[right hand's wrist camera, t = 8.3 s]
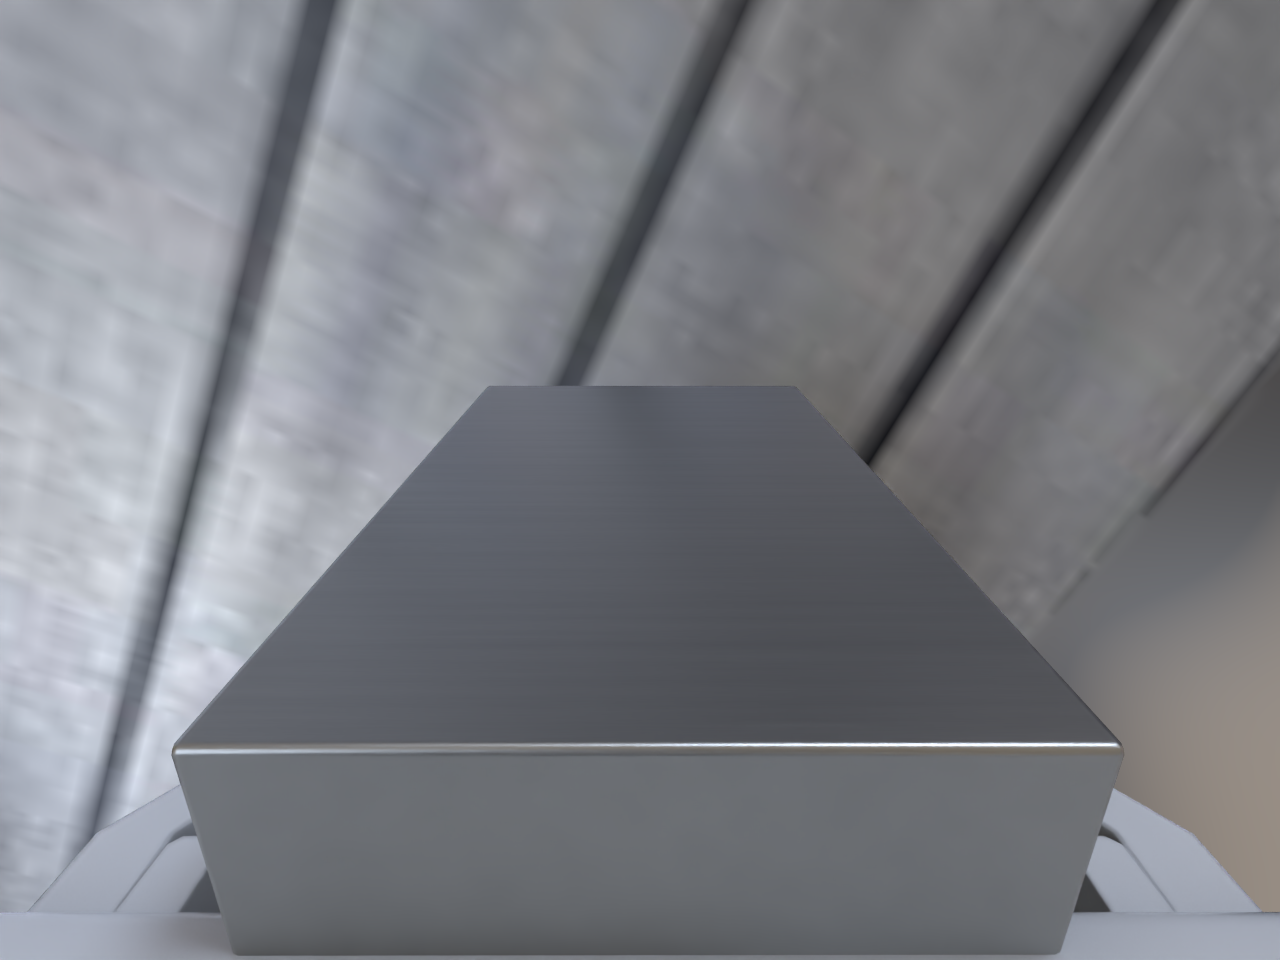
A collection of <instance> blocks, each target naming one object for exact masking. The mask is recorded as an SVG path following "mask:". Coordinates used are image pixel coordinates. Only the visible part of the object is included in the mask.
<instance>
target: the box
mask: <svg viewBox="0 0 1280 960" xmlns="http://www.w3.org/2000/svg"><path fill="white" fill-rule="evenodd" d="M1123 757H1124V750H1123V747H1122V744H1121V742H1120V741H1119V740H1118V739H1117V738H1116V737H1115V736H1114V735H1113V734H1112V733H1111V731H1110V730H1109V729H1108V728H1107V727H1106V726H1105V725H1104V724H1103V723H1102V722H1101V721H1100V719H1099V718H1098V717H1097V716H1096V715H1095V714H1094V713H1093V712H1092V711H1091V709H1090V708H1089V707H1088V706H1087V705H1086V704H1085V703H1084V702H1083V701H1082V700H1081V699H1080V697H1079V696H1078V695H1077V694H1076V693H1075V692H1074V691H1073V690H1072V689H1071V688H1070V687H1069V685H1068V684H1067V683H1066V682H1065V681H1064V680H1063V679H1062V678H1061V677H1060V676H1059V674H1058V673H1057V672H1056V671H1055V670H1054V669H1053V668H1052V667H1051V666H1050V665H1049V664H1048V662H1047V661H1046V660H1045V659H1044V658H1043V657H1042V656H1041V655H1040V654H1039V653H1038V651H1037V650H1036V649H1035V648H1034V647H1033V646H1032V645H1031V644H1030V643H1029V642H1028V641H1027V639H1026V638H1025V637H1024V636H1023V635H1022V634H1021V633H1020V632H1019V631H1018V630H1017V628H1016V627H1015V626H1014V625H1013V624H1012V623H1011V622H1010V621H1009V620H1008V619H1007V618H1006V616H1005V615H1004V614H1003V613H1002V612H1001V611H1000V610H999V609H998V608H997V607H996V605H995V604H994V603H993V602H992V601H991V600H990V599H989V598H988V597H987V596H986V595H985V593H984V592H983V591H982V590H981V589H980V588H979V587H978V586H977V585H976V584H975V582H974V581H973V580H972V579H971V578H970V577H969V576H968V575H967V574H966V573H965V572H964V570H963V569H962V568H961V567H960V566H959V565H958V564H957V563H956V562H955V561H954V559H953V558H952V557H951V556H950V555H949V554H948V553H947V552H946V551H945V550H944V549H943V547H942V546H941V545H940V544H939V543H938V542H937V541H936V540H935V539H934V538H933V536H932V535H931V534H930V533H929V532H928V531H927V530H926V529H925V528H924V527H923V526H922V524H921V523H920V522H919V521H918V520H917V519H916V518H915V517H914V516H913V515H912V513H911V512H910V511H909V510H908V509H907V508H906V507H905V506H904V505H903V504H902V503H901V501H900V500H899V499H898V498H897V497H896V496H895V495H894V494H893V493H892V492H891V490H890V489H889V488H888V487H887V486H886V485H885V484H884V483H883V482H882V481H881V480H880V478H879V477H878V476H877V475H876V474H875V473H874V472H873V471H872V470H871V469H870V467H869V466H868V465H867V464H866V463H865V462H864V461H863V460H862V459H861V458H860V457H859V455H858V454H857V453H856V452H855V451H854V450H853V449H852V448H851V447H850V446H849V445H848V443H847V442H846V441H845V440H844V439H843V438H842V437H841V436H840V435H839V434H838V432H837V431H836V430H835V429H834V428H833V427H832V426H831V425H830V424H829V423H828V422H827V420H826V419H825V418H824V417H823V416H822V415H821V414H820V413H819V412H818V411H817V409H816V408H815V407H814V406H813V405H812V404H811V403H810V402H809V401H808V400H807V399H806V397H805V396H804V395H803V394H802V393H801V392H800V391H799V390H798V389H797V388H796V387H794V386H489V387H487V388H486V389H485V390H484V392H483V393H482V394H481V395H480V396H479V397H478V398H477V400H476V401H475V402H474V403H473V404H472V405H471V406H470V408H469V409H468V410H467V411H466V412H465V413H464V414H463V416H462V417H461V418H460V419H459V420H458V421H457V422H456V423H455V425H454V426H453V427H452V428H451V429H450V430H449V431H448V433H447V434H446V435H445V436H444V437H443V438H442V439H441V441H440V442H439V443H438V444H437V445H436V446H435V447H434V449H433V450H432V451H431V452H430V453H429V454H428V455H427V457H426V458H425V459H424V460H423V461H422V462H421V463H420V464H419V466H418V467H417V468H416V469H415V470H414V471H413V472H412V474H411V475H410V476H409V477H408V478H407V479H406V480H405V482H404V483H403V484H402V485H401V486H400V487H399V488H398V490H397V491H396V492H395V493H394V494H393V495H392V496H391V498H390V499H389V500H388V501H387V502H386V503H385V504H384V505H383V507H382V508H381V509H380V510H379V511H378V512H377V513H376V515H375V516H374V517H373V518H372V519H371V520H370V521H369V523H368V524H367V525H366V526H365V527H364V528H363V529H362V531H361V532H360V533H359V534H358V535H357V536H356V537H355V539H354V540H353V541H352V542H351V543H350V544H349V545H348V546H347V548H346V549H345V550H344V551H343V552H342V553H341V554H340V556H339V557H338V558H337V559H336V560H335V561H334V562H333V564H332V565H331V566H330V567H329V568H328V569H327V570H326V572H325V573H324V574H323V575H322V576H321V577H320V578H319V580H318V581H317V582H316V583H315V584H314V585H313V586H312V587H311V589H310V590H309V591H308V592H307V593H306V594H305V595H304V597H303V598H302V599H301V600H300V601H299V602H298V603H297V605H296V606H295V607H294V608H293V609H292V610H291V611H290V613H289V614H288V615H287V616H286V617H285V618H284V619H283V621H282V622H281V623H280V624H279V625H278V626H277V627H276V628H275V630H274V631H273V632H272V633H271V634H270V635H269V636H268V638H267V639H266V640H265V641H264V642H263V643H262V644H261V646H260V647H259V648H258V649H257V650H256V651H255V652H254V654H253V655H252V656H251V657H250V658H249V659H248V660H247V662H246V663H245V664H244V665H243V666H242V667H241V668H240V669H239V671H238V672H237V673H236V674H235V675H234V676H233V677H232V679H231V680H230V681H229V682H228V683H227V684H226V685H225V687H224V688H223V689H222V690H221V691H220V692H219V693H218V695H217V696H216V697H215V698H214V699H213V700H212V701H211V703H210V704H209V705H208V706H207V707H206V708H205V709H204V710H203V712H202V713H201V714H200V715H199V716H198V717H197V718H196V720H195V721H194V722H193V723H192V724H191V725H190V726H189V728H188V729H187V730H186V731H185V732H184V733H183V734H182V736H181V737H180V738H179V739H178V740H177V741H176V742H175V744H174V746H173V749H172V758H173V761H174V764H175V768H176V771H177V774H178V777H179V781H180V784H181V787H182V790H183V793H184V797H185V800H186V803H187V806H188V810H189V813H190V816H191V819H192V822H193V826H194V829H195V832H196V835H197V839H198V842H199V845H200V848H201V851H202V855H203V858H204V861H205V864H206V868H207V871H208V874H209V877H210V880H211V884H212V887H213V890H214V893H215V897H216V900H217V903H218V906H219V909H220V913H221V916H222V919H223V922H224V925H225V929H226V932H227V935H228V938H229V942H230V945H231V948H232V951H233V954H236V955H238V956H476V955H1055V954H1058V953H1060V952H1061V948H1062V945H1063V942H1064V939H1065V936H1066V933H1067V930H1068V927H1069V924H1070V921H1071V918H1072V914H1073V911H1074V908H1075V905H1076V902H1077V899H1078V896H1079V893H1080V890H1081V887H1082V884H1083V880H1084V877H1085V874H1086V871H1087V868H1088V865H1089V862H1090V859H1091V856H1092V853H1093V850H1094V846H1095V843H1096V840H1097V837H1098V834H1099V831H1100V828H1101V825H1102V822H1103V819H1104V816H1105V812H1106V809H1107V806H1108V803H1109V800H1110V797H1111V794H1112V791H1113V788H1114V785H1115V782H1116V778H1117V775H1118V772H1119V769H1120V766H1121V763H1122V760H1123Z"/></svg>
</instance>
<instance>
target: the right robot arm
mask: <svg viewBox="0 0 1280 960" xmlns="http://www.w3.org/2000/svg"><path fill="white" fill-rule="evenodd" d="M0 960H1280V912H1262V911H1261V909H1260V908H1259V907H1258V906H1257V905H1256V904H1255V903H1254V902H1253V900H1252V899H1251V898H1250V897H1249V896H1248V895H1247V894H1246V893H1245V891H1244V890H1243V889H1242V888H1241V887H1240V886H1239V885H1238V884H1237V882H1236V881H1235V880H1234V879H1233V878H1232V877H1231V876H1230V875H1229V873H1228V872H1227V871H1226V870H1225V869H1224V868H1223V867H1222V866H1221V864H1220V863H1219V862H1218V861H1217V860H1216V859H1215V858H1214V857H1213V855H1212V854H1211V853H1210V852H1209V851H1208V850H1207V849H1206V848H1205V846H1204V845H1203V844H1202V843H1201V842H1200V841H1199V840H1198V839H1197V837H1196V836H1195V835H1194V834H1193V833H1191V832H1189V831H1187V830H1186V829H1184V828H1182V827H1181V826H1179V825H1177V824H1175V823H1174V822H1172V821H1170V820H1168V819H1167V818H1165V817H1163V816H1161V815H1160V814H1158V813H1156V812H1154V811H1153V810H1151V809H1149V808H1148V807H1146V806H1144V805H1142V804H1141V803H1139V802H1137V801H1135V800H1134V799H1132V798H1130V797H1128V796H1127V795H1125V794H1123V793H1121V792H1120V791H1118V790H1116V789H1115V788H1113V791H1112V794H1111V797H1110V800H1109V803H1108V806H1107V809H1106V812H1105V816H1104V819H1103V822H1102V825H1101V828H1100V831H1099V834H1098V837H1097V840H1096V843H1095V846H1094V850H1093V853H1092V856H1091V859H1090V862H1089V865H1088V868H1087V871H1086V874H1085V877H1084V880H1083V884H1082V887H1081V890H1080V893H1079V896H1078V899H1077V902H1076V905H1075V908H1074V911H1073V914H1072V918H1071V921H1070V924H1069V927H1068V930H1067V933H1066V936H1065V939H1064V942H1063V945H1062V948H1061V952H1060V953H1058V954H1055V955H476V956H238V955H236V954H233V951H232V948H231V945H230V942H229V938H228V935H227V932H226V929H225V925H224V922H223V919H222V916H221V913H220V909H219V906H218V903H217V900H216V897H215V893H214V890H213V887H212V884H211V880H210V877H209V874H208V871H207V868H206V864H205V861H204V858H203V855H202V851H201V848H200V845H199V842H198V839H197V835H196V832H195V829H194V826H193V822H192V819H191V816H190V813H189V810H188V806H187V803H186V800H185V797H184V793H183V790H182V787H181V784H180V785H178V786H177V787H175V788H173V789H172V790H170V791H168V792H166V793H165V794H163V795H161V796H159V797H158V798H156V799H154V800H153V801H151V802H149V803H147V804H146V805H144V806H142V807H140V808H139V809H137V810H135V811H134V812H132V813H130V814H128V815H127V816H125V817H123V818H121V819H120V820H118V821H116V822H115V823H113V824H111V825H109V826H108V827H106V828H104V829H102V830H101V831H99V832H97V833H96V834H95V836H94V837H93V838H92V839H91V840H90V841H89V842H88V843H87V845H86V846H85V847H84V848H83V849H82V850H81V851H80V853H79V854H78V855H77V856H76V857H75V858H74V859H73V861H72V862H71V863H70V864H69V865H68V866H67V867H66V868H65V870H64V871H63V872H62V873H61V874H60V875H59V876H58V878H57V879H56V880H55V881H54V882H53V883H52V884H51V886H50V887H49V888H48V889H47V890H46V891H45V892H44V893H43V895H42V896H41V897H40V898H39V899H38V900H37V901H36V903H35V904H34V905H33V906H32V907H31V908H30V909H29V911H28V912H0Z"/></svg>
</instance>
